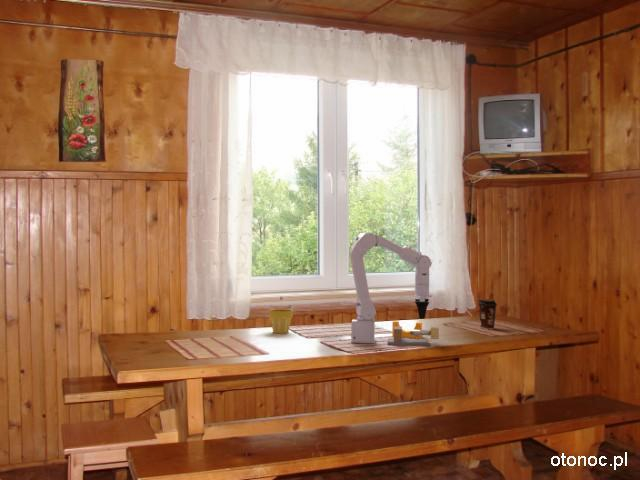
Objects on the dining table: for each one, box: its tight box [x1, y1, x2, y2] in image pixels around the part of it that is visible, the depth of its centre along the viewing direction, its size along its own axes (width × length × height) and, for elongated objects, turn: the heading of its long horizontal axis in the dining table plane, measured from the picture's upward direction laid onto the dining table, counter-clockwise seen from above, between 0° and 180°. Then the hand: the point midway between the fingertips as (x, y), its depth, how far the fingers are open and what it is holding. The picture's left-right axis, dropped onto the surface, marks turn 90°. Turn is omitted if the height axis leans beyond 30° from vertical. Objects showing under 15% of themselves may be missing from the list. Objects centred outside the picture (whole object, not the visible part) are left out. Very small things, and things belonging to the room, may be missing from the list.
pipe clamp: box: [391, 320, 424, 339], centre depth 288 cm, size 12×4×6 cm, turn 69°
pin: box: [409, 326, 440, 340], centre depth 271 cm, size 11×3×4 cm, turn 83°
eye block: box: [386, 325, 430, 347], centre depth 272 cm, size 16×8×6 cm, turn 83°
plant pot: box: [268, 308, 294, 334], centre depth 298 cm, size 10×10×10 cm
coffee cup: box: [478, 298, 498, 330], centre depth 313 cm, size 9×8×13 cm
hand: (421, 317), depth 279 cm, fingers open, 7 cm apart
